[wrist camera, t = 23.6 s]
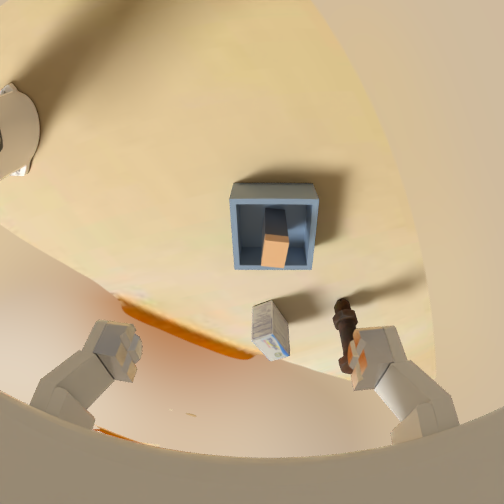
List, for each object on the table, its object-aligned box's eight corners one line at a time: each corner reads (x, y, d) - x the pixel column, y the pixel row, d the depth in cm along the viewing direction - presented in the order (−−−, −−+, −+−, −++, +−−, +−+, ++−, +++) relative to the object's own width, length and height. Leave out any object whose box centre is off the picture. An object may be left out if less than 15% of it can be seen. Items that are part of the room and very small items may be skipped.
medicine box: (252, 305, 56) (249, 340, 49) (272, 298, 54) (273, 334, 47) (269, 328, 60) (269, 362, 53) (288, 322, 58) (290, 356, 51)
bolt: (358, 294, 53) (376, 357, 41) (350, 312, 56) (366, 373, 44) (330, 293, 53) (344, 358, 41) (324, 311, 56) (335, 374, 44)
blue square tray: (237, 248, 48) (234, 269, 43) (233, 183, 41) (229, 198, 37) (307, 248, 47) (311, 269, 43) (312, 183, 41) (319, 199, 36)
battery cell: (261, 230, 45) (261, 266, 37) (265, 207, 42) (264, 240, 35) (280, 232, 45) (283, 268, 38) (285, 209, 43) (289, 242, 35)
